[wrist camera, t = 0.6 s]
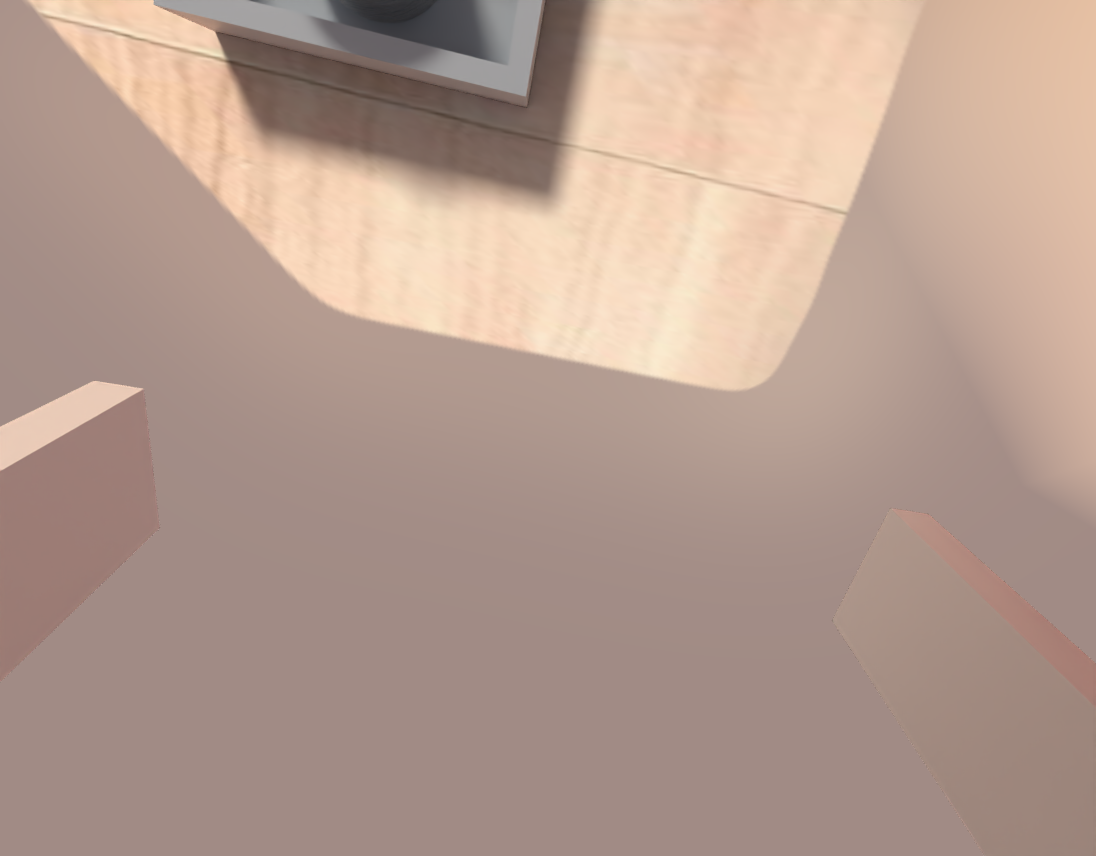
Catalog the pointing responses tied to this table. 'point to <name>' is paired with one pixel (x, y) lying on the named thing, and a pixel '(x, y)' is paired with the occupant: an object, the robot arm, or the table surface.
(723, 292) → the table surface
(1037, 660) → the robot arm
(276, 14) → the crate
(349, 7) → the metal tin
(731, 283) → the table surface
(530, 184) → the table surface
